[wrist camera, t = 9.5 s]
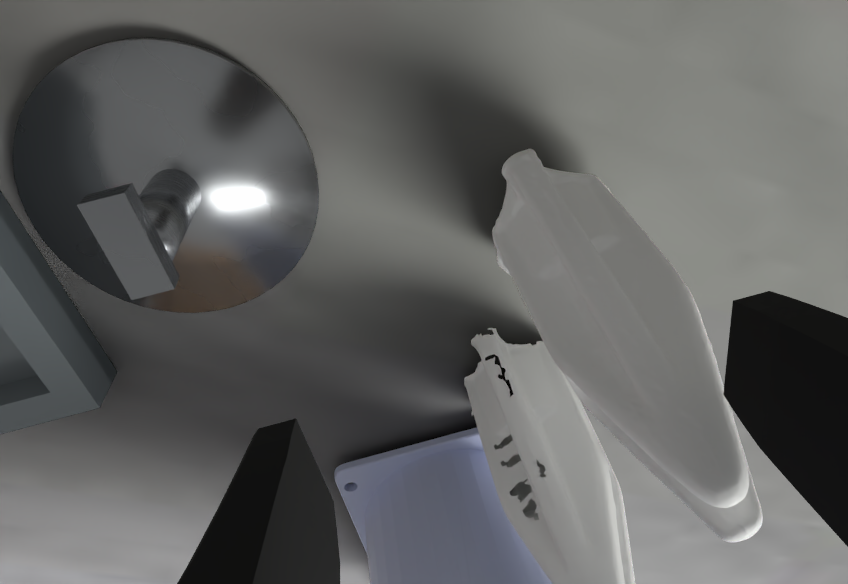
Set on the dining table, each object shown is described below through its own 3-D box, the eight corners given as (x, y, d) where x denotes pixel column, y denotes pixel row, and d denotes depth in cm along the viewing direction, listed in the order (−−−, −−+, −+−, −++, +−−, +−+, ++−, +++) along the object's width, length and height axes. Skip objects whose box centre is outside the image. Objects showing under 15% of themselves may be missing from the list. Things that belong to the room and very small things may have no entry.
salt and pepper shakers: (485, 130, 17) (697, 338, 8) (616, 131, 18) (956, 324, 8) (455, 429, 23) (553, 754, 14) (553, 421, 24) (711, 725, 14)
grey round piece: (349, 270, 19) (358, 353, 15) (109, 333, 18) (53, 434, 15) (264, 3, 14) (245, 22, 11) (-48, 80, 14) (-186, 128, 10)
